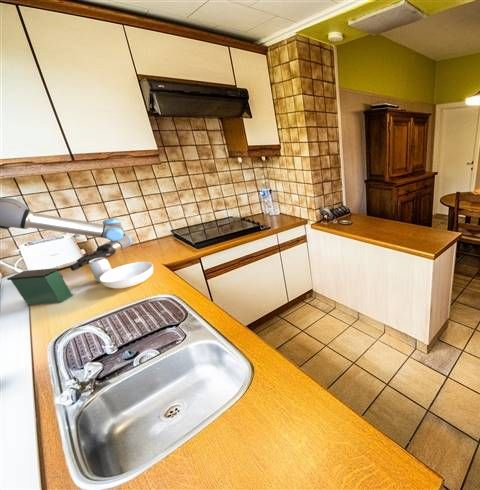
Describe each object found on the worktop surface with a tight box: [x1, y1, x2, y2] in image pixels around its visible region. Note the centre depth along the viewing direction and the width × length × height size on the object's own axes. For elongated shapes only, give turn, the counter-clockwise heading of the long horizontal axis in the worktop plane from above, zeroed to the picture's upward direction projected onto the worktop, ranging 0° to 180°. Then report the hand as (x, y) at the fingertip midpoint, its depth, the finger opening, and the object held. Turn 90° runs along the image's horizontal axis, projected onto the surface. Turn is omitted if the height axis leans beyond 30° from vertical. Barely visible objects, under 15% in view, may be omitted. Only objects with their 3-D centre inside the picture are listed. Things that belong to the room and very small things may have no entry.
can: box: [87, 257, 113, 283], centre depth 139 cm, size 8×8×12 cm
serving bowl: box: [100, 261, 154, 289], centre depth 135 cm, size 21×21×7 cm
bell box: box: [6, 267, 73, 307], centre depth 122 cm, size 15×7×15 cm, turn 95°
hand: (72, 268), depth 136 cm, fingers closed
